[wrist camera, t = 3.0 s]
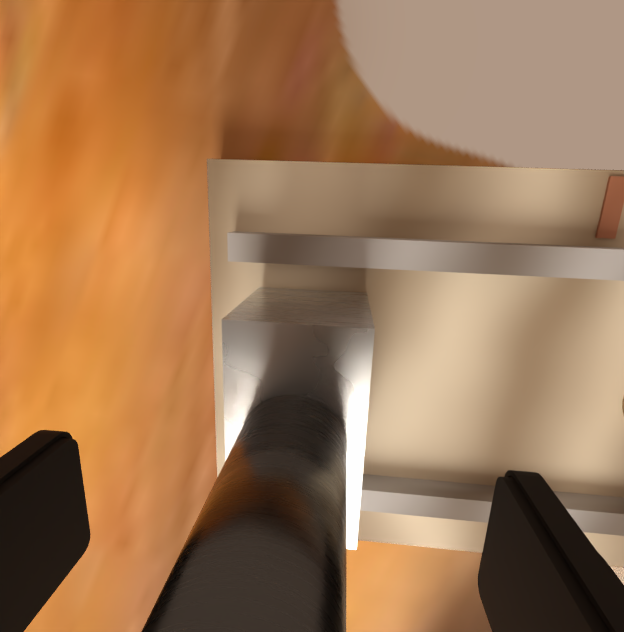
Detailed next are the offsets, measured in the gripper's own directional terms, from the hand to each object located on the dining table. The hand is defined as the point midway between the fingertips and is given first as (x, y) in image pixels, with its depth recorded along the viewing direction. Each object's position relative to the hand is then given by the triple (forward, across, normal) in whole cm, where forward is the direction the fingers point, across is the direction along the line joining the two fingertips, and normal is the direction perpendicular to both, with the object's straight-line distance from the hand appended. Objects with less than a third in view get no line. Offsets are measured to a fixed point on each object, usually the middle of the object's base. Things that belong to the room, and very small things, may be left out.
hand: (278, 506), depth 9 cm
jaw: (+7, 0, 0) cm, 7 cm away
